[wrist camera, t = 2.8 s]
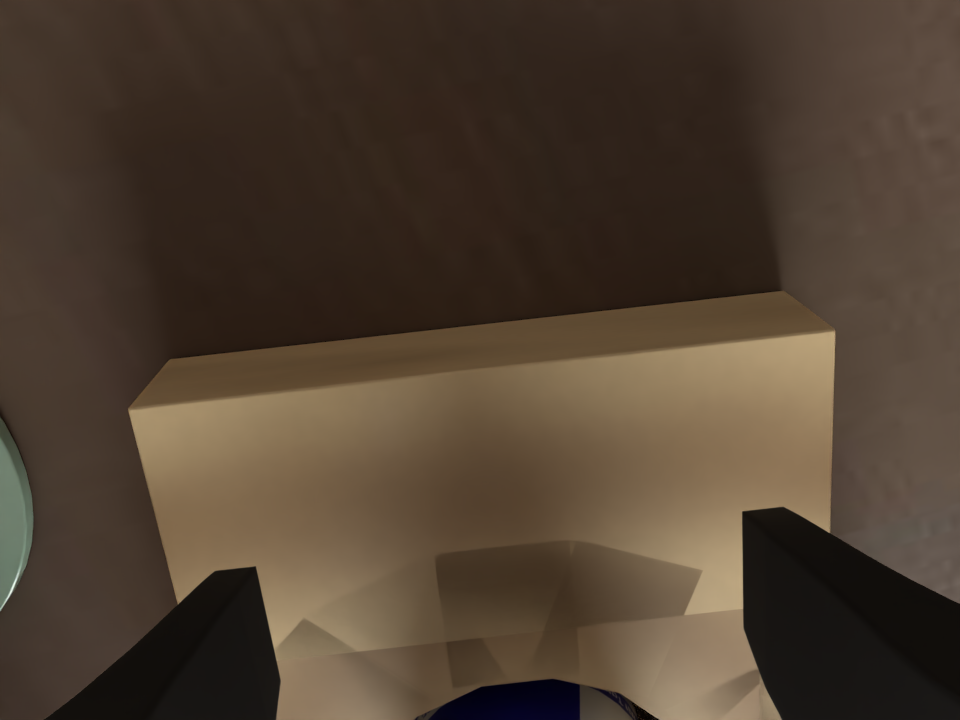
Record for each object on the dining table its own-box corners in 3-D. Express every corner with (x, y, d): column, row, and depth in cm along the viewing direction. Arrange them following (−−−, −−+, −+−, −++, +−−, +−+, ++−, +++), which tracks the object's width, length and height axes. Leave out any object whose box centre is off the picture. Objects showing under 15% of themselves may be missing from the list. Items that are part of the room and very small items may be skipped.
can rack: (805, 915, 23) (846, 1015, 21) (286, 974, 23) (268, 1079, 21) (818, 286, 18) (875, 324, 15) (134, 362, 18) (88, 412, 15)
